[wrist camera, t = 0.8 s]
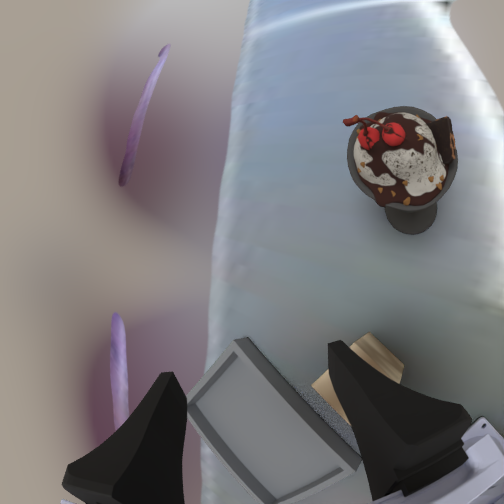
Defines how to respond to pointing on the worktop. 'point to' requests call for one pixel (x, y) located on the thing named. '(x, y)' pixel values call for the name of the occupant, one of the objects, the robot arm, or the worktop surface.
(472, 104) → the worktop surface
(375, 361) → the block
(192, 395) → the tray
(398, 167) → the sundae
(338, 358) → the robot arm
